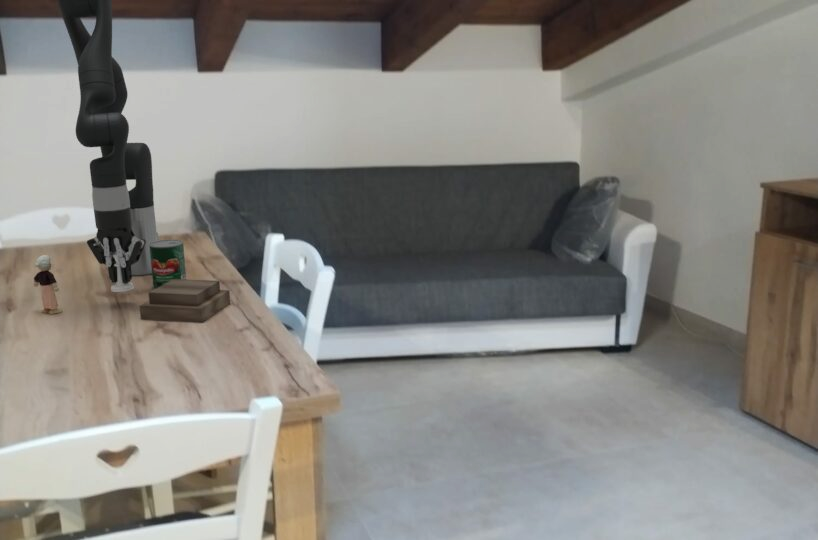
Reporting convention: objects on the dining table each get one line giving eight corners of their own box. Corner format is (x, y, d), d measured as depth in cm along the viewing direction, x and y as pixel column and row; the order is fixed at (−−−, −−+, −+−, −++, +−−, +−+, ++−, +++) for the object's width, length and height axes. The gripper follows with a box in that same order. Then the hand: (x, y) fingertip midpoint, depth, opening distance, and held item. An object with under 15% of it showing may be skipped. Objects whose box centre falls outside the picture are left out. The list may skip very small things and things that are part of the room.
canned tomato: (155, 293, 187) (150, 248, 184) (151, 285, 194) (146, 241, 191) (189, 289, 190) (185, 244, 188) (184, 281, 197) (180, 238, 195)
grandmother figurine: (70, 310, 175) (63, 254, 172) (58, 315, 172) (50, 258, 169) (43, 307, 178) (35, 252, 175) (29, 312, 174) (21, 256, 171)
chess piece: (126, 292, 176) (120, 248, 173) (106, 291, 177) (100, 248, 174) (138, 285, 180) (132, 242, 178) (118, 285, 181) (112, 242, 179)
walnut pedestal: (173, 300, 182) (170, 276, 180) (230, 302, 179) (228, 279, 177) (140, 319, 168) (138, 294, 167) (202, 322, 166) (200, 297, 164)
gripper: (149, 203, 176) (157, 278, 180) (92, 202, 178) (102, 276, 183) (132, 210, 169) (140, 288, 173) (73, 208, 171) (83, 285, 176)
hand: (121, 281), depth 178 cm, fingers closed on chess piece
